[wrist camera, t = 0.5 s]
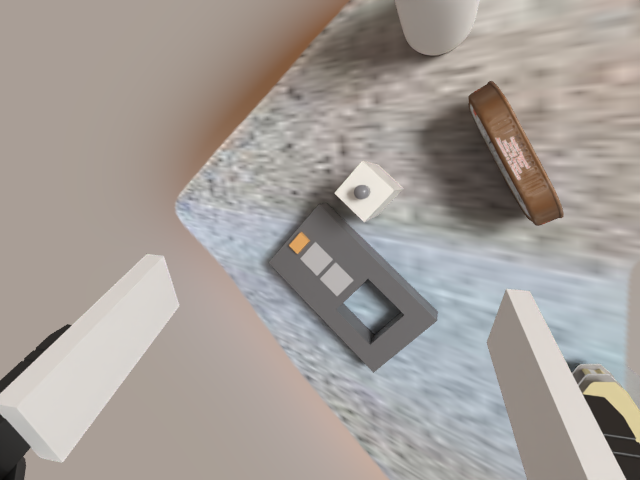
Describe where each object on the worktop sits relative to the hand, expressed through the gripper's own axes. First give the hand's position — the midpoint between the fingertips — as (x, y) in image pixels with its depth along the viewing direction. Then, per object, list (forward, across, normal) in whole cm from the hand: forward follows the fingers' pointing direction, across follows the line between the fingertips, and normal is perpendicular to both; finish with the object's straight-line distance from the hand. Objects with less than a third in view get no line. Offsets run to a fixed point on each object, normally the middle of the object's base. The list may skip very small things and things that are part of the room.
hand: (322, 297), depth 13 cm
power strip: (+26, 0, +21) cm, 33 cm away
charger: (+31, -2, +9) cm, 32 cm away
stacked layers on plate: (+19, -27, +26) cm, 43 cm away
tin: (+30, -16, +4) cm, 34 cm away
